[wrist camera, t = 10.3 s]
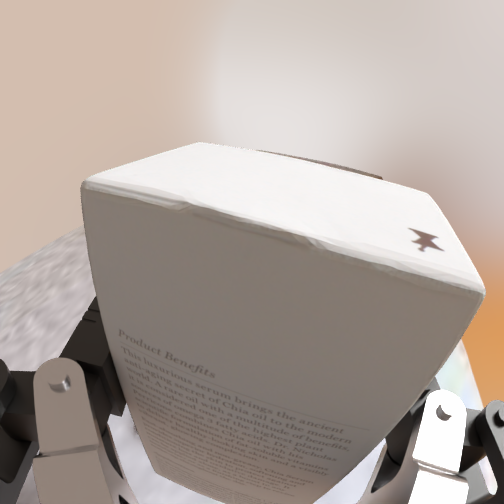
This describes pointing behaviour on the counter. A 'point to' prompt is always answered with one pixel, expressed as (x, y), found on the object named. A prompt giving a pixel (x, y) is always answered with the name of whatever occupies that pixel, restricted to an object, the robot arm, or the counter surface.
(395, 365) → the skincare box
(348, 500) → the counter surface
